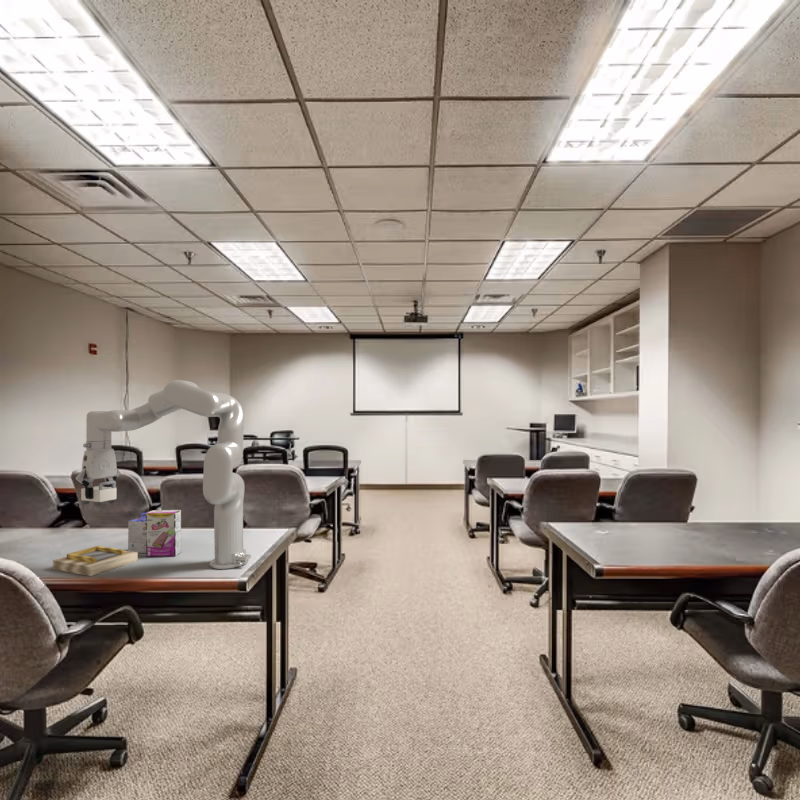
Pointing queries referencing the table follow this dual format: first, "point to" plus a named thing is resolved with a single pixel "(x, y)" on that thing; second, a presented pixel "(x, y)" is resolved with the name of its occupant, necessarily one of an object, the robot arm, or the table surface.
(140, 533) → the ink cartridge box
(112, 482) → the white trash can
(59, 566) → the dock
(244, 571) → the table surface
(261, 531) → the table surface
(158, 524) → the candy bar box
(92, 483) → the robot arm
